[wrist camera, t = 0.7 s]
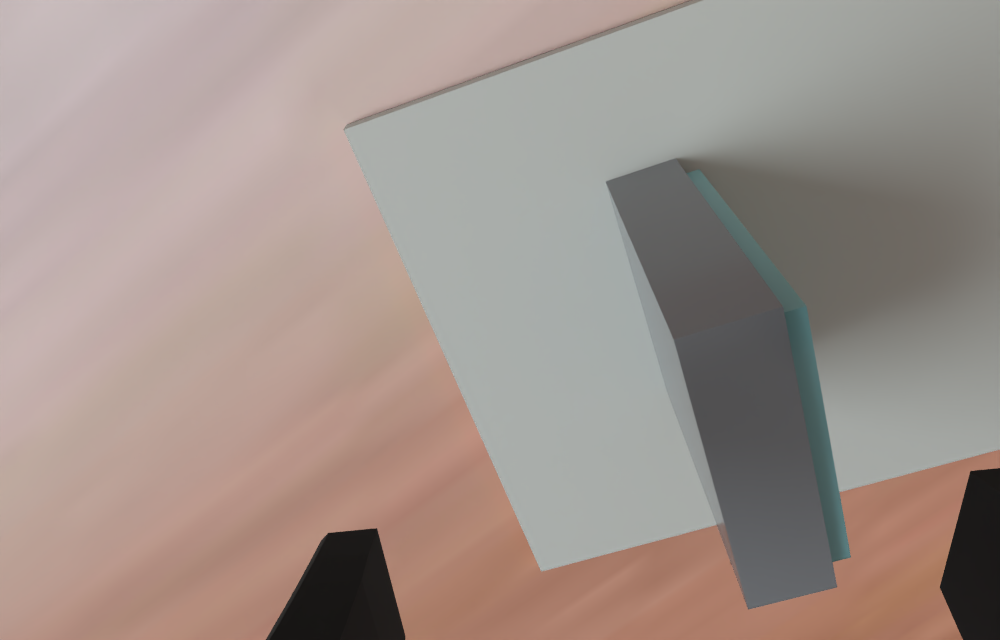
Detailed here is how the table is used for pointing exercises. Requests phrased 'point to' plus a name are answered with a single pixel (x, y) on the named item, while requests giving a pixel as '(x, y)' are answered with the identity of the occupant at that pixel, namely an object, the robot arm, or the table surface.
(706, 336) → the glazed tile
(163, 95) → the table surface
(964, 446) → the felt mat
